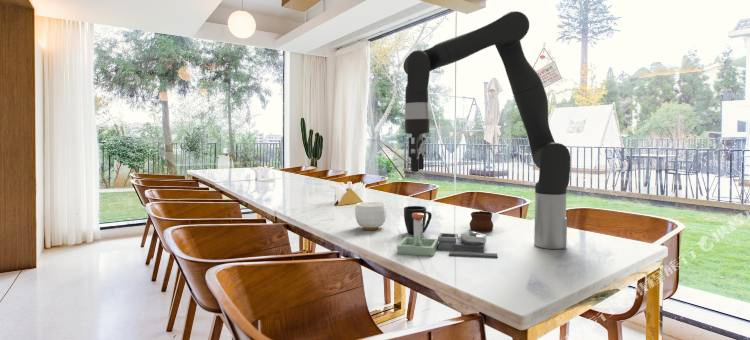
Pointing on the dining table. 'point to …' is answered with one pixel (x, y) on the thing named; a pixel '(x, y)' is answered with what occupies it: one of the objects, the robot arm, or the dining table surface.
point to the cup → (370, 214)
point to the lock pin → (418, 228)
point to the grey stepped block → (462, 242)
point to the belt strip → (473, 254)
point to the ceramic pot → (481, 221)
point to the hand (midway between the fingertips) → (417, 170)
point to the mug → (410, 220)
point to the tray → (417, 247)
